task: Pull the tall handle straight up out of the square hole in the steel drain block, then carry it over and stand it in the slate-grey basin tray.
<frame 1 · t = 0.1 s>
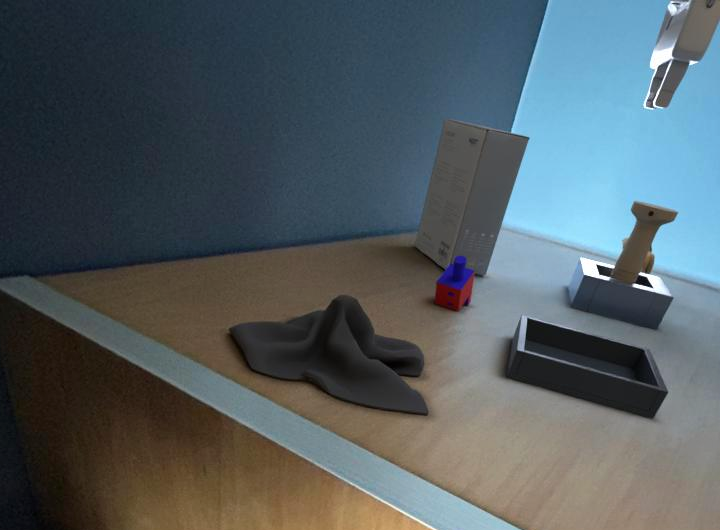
hand: (654, 108, 78), 26 cm above the table, tool pointing down, fingers open, 8 cm apart
cloth: (343, 363, 57), on the table
hard drive box: (447, 262, 100), on the table
lion figurine: (625, 286, 109), on the table
toy building block: (449, 306, 79), on the table
handle: (609, 308, 94), resting in drain block
drain block: (609, 307, 94), on the table
basin: (576, 375, 65), on the table
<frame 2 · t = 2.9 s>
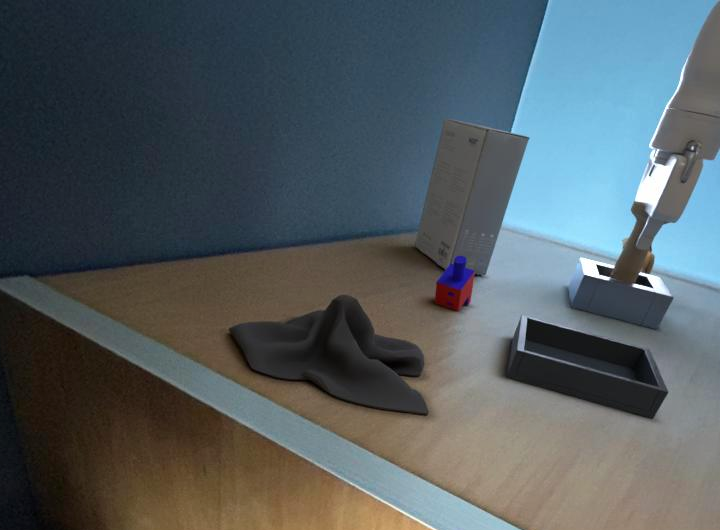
hand: (638, 245, 88), 10 cm above the table, tool pointing down, fingers closed on handle, 4 cm apart
handle: (609, 308, 94), resting in drain block, touching gripper
everything else where it was.
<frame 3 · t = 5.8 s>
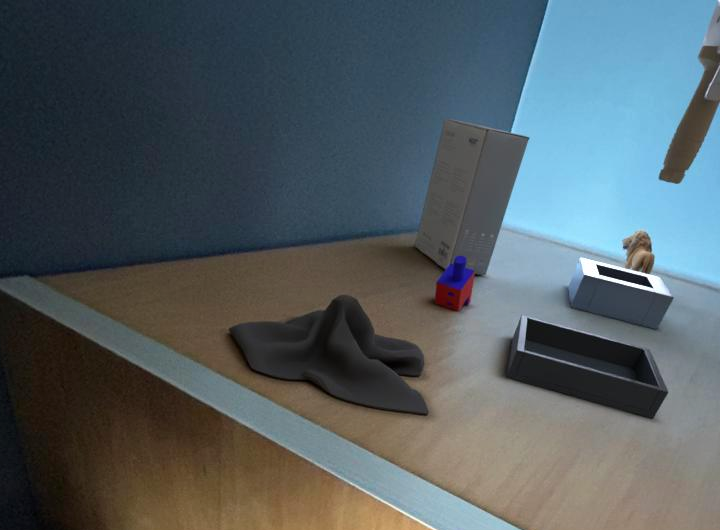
hand: (705, 101, 76), 28 cm above the table, tool pointing down, fingers closed on handle, 4 cm apart
handle: (667, 183, 82), point 18 cm above the table, touching gripper
everything else where it was.
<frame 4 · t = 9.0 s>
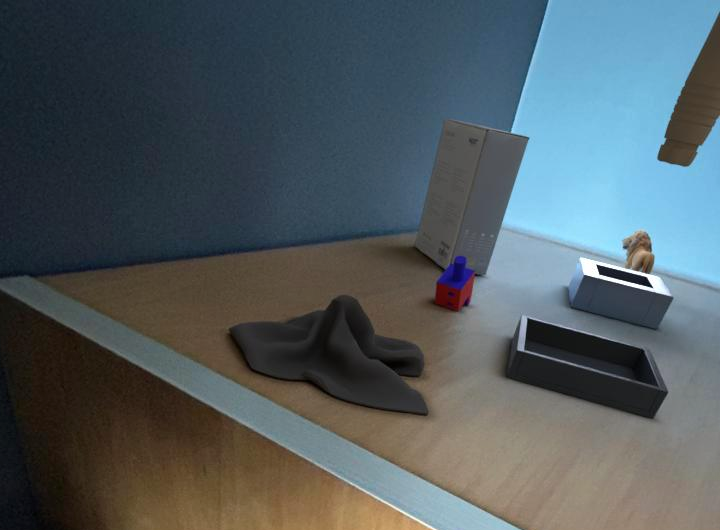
handle: (671, 166, 55), point 21 cm above the table, touching gripper
everything else where it was.
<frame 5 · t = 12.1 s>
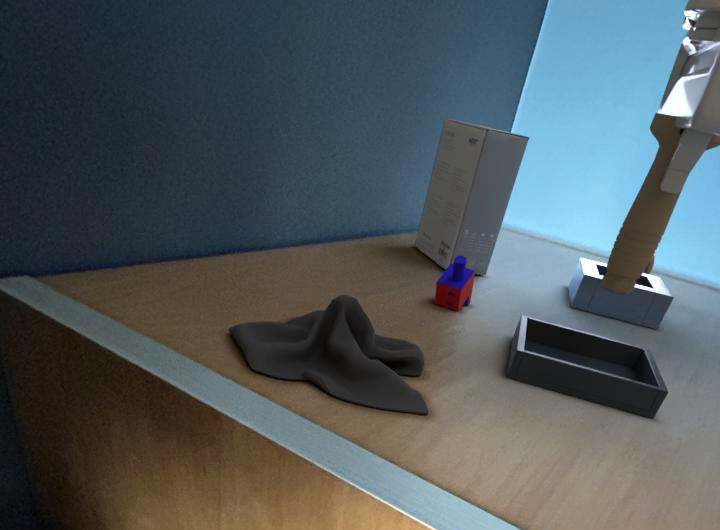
hand: (662, 188, 54), 19 cm above the table, tool pointing down, fingers closed on handle, 4 cm apart
handle: (613, 292, 60), point 9 cm above the table, touching gripper
everything else where it was.
when the fingers open (10 cm above the table, at t = 15.0 s): handle stays where it is, resting on basin.
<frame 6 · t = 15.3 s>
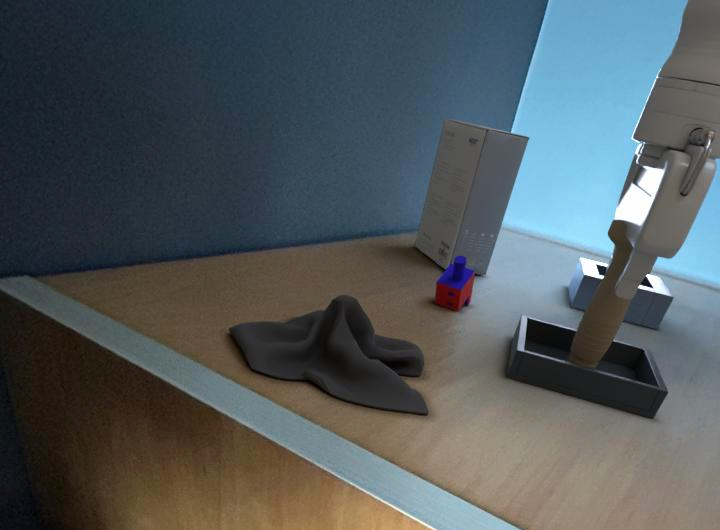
hand: (617, 285, 59), 10 cm above the table, tool pointing down, fingers open, 8 cm apart
handle: (577, 371, 65), resting on basin
everything else where it was.
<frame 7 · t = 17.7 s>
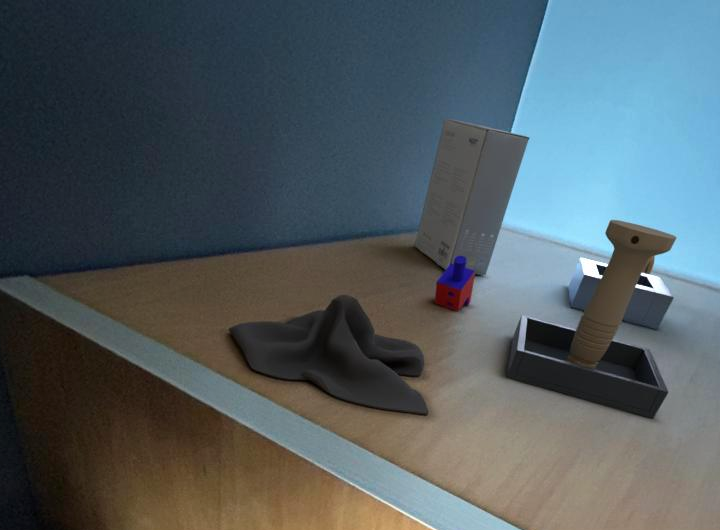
nothing on the table moved.
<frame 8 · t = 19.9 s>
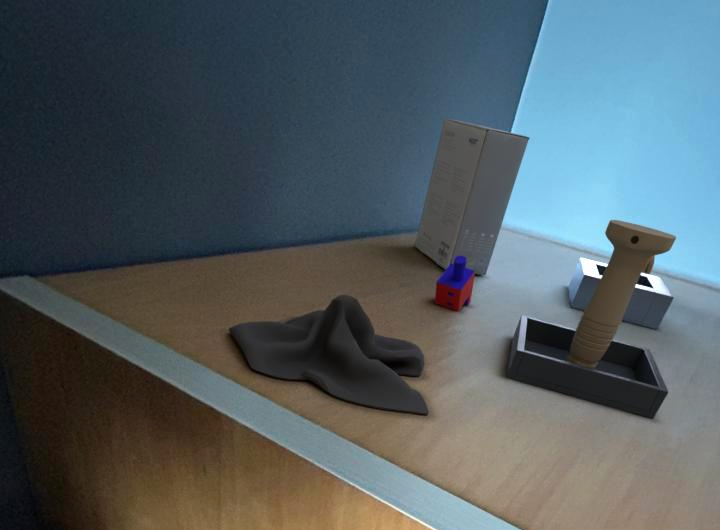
nothing on the table moved.
at the end: handle inside the target area in the basin (0.0 cm from its centre), point 0.4 cm above the basin's base; handle moved 37.6 cm from its start; the gripper is holding nothing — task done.
